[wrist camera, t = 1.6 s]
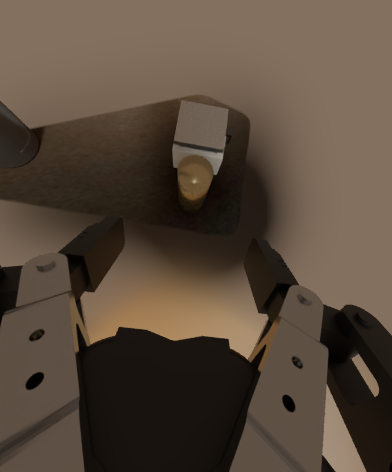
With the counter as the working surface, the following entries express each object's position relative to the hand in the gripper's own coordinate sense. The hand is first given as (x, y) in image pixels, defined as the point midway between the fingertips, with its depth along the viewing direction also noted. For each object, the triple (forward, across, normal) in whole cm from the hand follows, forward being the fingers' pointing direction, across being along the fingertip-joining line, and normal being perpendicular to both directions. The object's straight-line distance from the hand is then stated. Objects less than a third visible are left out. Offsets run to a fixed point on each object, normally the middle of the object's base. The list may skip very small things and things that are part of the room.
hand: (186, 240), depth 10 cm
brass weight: (+23, 0, +6) cm, 23 cm away
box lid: (+28, 0, -4) cm, 29 cm away
